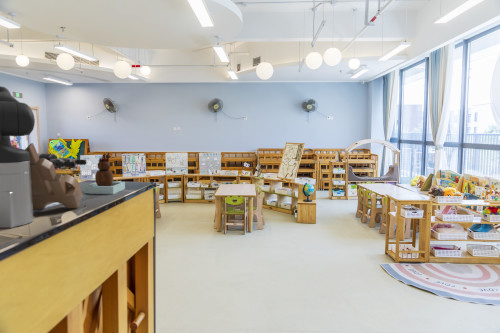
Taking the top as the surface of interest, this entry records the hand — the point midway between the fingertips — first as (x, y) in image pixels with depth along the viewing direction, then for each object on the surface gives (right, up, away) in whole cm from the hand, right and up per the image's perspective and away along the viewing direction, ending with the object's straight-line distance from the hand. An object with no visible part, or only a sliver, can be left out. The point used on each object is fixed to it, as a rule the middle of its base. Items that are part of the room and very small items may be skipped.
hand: (80, 163), depth 132 cm
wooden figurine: (+10, -10, +1) cm, 14 cm away
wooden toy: (+7, -13, -27) cm, 31 cm away
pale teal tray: (+10, -12, +1) cm, 16 cm away
